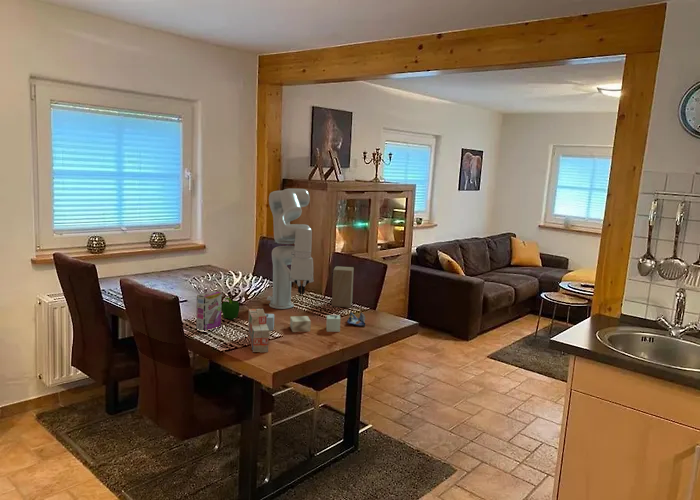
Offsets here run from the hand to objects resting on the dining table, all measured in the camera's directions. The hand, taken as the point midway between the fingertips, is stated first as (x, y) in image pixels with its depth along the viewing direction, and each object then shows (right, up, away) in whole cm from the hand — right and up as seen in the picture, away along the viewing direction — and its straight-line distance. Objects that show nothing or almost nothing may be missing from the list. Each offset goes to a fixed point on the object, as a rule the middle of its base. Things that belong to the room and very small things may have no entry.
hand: (301, 294), depth 245 cm
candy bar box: (-40, -15, -6) cm, 44 cm away
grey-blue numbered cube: (-16, -15, -1) cm, 22 cm away
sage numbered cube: (+14, -16, +2) cm, 22 cm away
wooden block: (+18, -10, +46) cm, 50 cm away
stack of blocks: (-16, -19, -21) cm, 33 cm away
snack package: (+26, -16, +13) cm, 33 cm away
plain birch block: (-1, -16, +1) cm, 16 cm away
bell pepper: (-35, -13, +12) cm, 39 cm away
